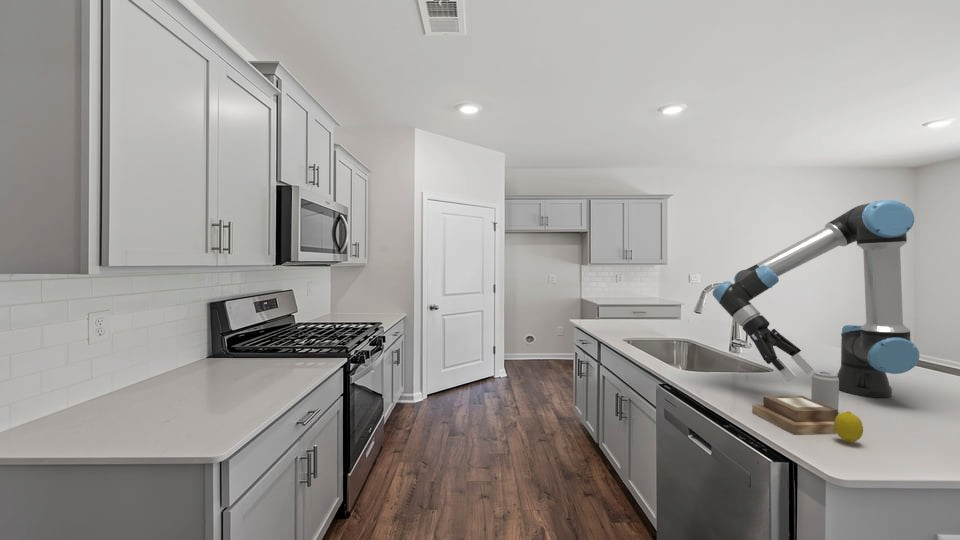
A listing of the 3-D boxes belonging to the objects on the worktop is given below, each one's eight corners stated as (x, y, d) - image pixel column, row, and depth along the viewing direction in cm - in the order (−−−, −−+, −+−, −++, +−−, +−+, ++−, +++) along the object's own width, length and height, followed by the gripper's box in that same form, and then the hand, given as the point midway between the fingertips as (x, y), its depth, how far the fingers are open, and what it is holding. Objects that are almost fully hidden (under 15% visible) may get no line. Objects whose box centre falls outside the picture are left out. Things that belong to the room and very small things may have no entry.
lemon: (828, 438, 111) (828, 407, 111) (847, 437, 111) (848, 407, 111) (848, 447, 106) (849, 415, 105) (868, 447, 106) (869, 415, 106)
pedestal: (802, 411, 130) (803, 392, 130) (851, 433, 114) (851, 412, 114) (752, 412, 129) (752, 393, 129) (794, 434, 113) (794, 413, 113)
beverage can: (832, 410, 132) (833, 371, 131) (842, 417, 126) (843, 376, 125) (807, 407, 134) (808, 369, 133) (816, 414, 128) (817, 374, 127)
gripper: (760, 324, 155) (808, 375, 143) (723, 331, 141) (773, 388, 129) (777, 311, 150) (828, 363, 138) (741, 317, 137) (794, 374, 125)
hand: (802, 375), depth 134 cm, fingers open, 13 cm apart
